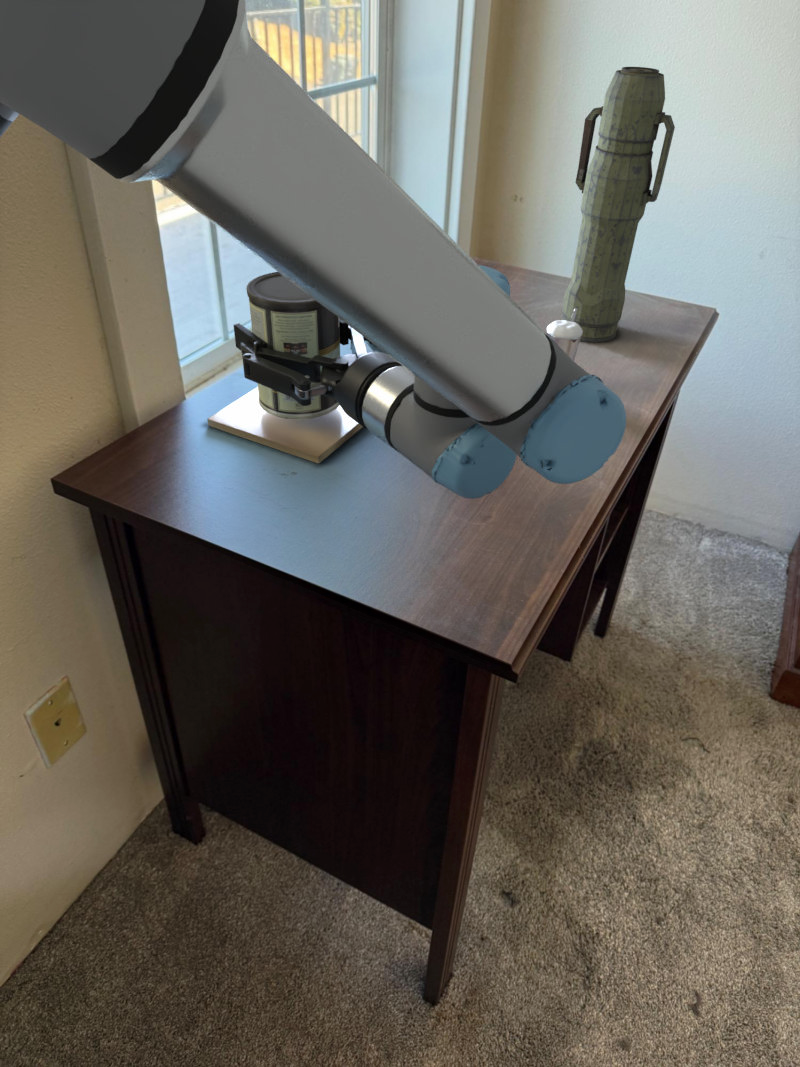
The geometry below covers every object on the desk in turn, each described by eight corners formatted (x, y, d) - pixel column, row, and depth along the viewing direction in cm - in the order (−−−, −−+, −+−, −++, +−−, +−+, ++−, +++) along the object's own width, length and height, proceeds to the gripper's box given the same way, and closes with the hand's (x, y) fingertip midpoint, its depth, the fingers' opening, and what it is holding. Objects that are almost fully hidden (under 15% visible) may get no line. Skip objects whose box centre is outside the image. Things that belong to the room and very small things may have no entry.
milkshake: (578, 382, 102) (592, 312, 96) (563, 397, 99) (577, 325, 93) (548, 373, 104) (560, 304, 98) (532, 388, 101) (543, 316, 94)
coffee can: (319, 373, 97) (315, 264, 88) (357, 407, 90) (356, 293, 81) (244, 390, 92) (232, 277, 84) (278, 428, 86) (268, 309, 77)
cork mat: (318, 464, 84) (318, 456, 84) (208, 425, 90) (206, 418, 89) (388, 406, 95) (388, 399, 95) (285, 375, 101) (285, 368, 100)
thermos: (558, 313, 122) (602, 61, 100) (631, 328, 118) (692, 70, 96) (542, 332, 115) (585, 68, 94) (618, 349, 112) (681, 77, 90)
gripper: (294, 465, 72) (194, 377, 86) (469, 402, 83) (356, 333, 97) (289, 395, 67) (184, 314, 81) (475, 339, 78) (356, 276, 92)
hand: (278, 325), depth 89 cm, fingers closed on coffee can, 10 cm apart
